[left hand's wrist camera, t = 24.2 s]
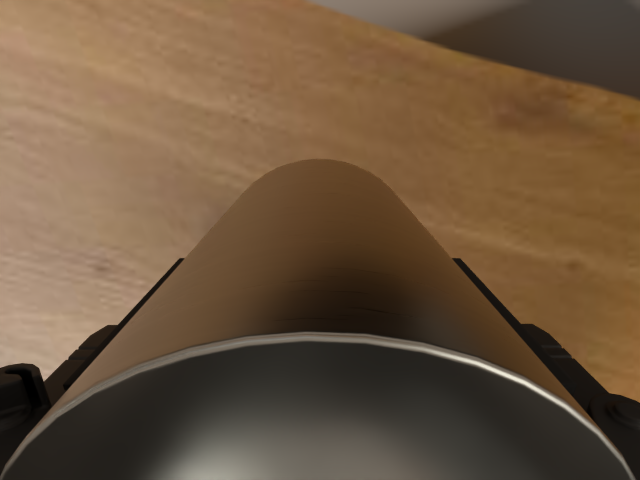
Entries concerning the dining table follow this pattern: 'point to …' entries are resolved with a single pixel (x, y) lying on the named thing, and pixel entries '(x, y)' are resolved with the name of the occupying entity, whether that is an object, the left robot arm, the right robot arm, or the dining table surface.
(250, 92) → the dining table surface
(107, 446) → the tin
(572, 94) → the dining table surface
